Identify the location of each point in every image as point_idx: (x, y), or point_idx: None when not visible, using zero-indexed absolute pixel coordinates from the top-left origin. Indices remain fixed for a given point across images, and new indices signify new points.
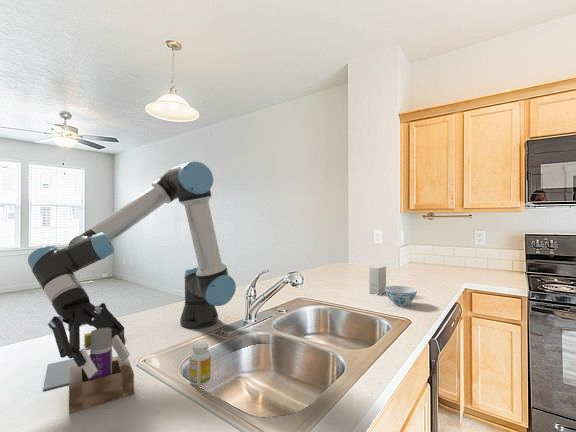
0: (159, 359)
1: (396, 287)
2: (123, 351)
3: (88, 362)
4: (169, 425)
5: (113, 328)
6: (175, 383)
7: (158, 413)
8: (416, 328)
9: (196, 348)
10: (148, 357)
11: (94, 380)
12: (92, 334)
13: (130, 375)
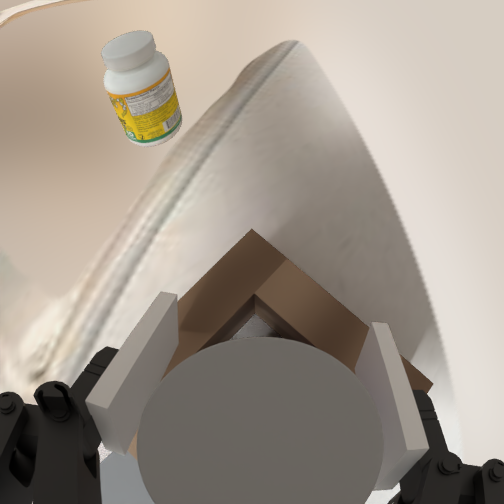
0: (29, 322)
1: None
2: (164, 325)
3: (402, 369)
4: (340, 108)
5: (50, 455)
6: (172, 175)
7: (315, 142)
8: (35, 3)
9: (151, 40)
10: (21, 373)
11: (347, 357)
12: (377, 470)
13: (262, 239)
